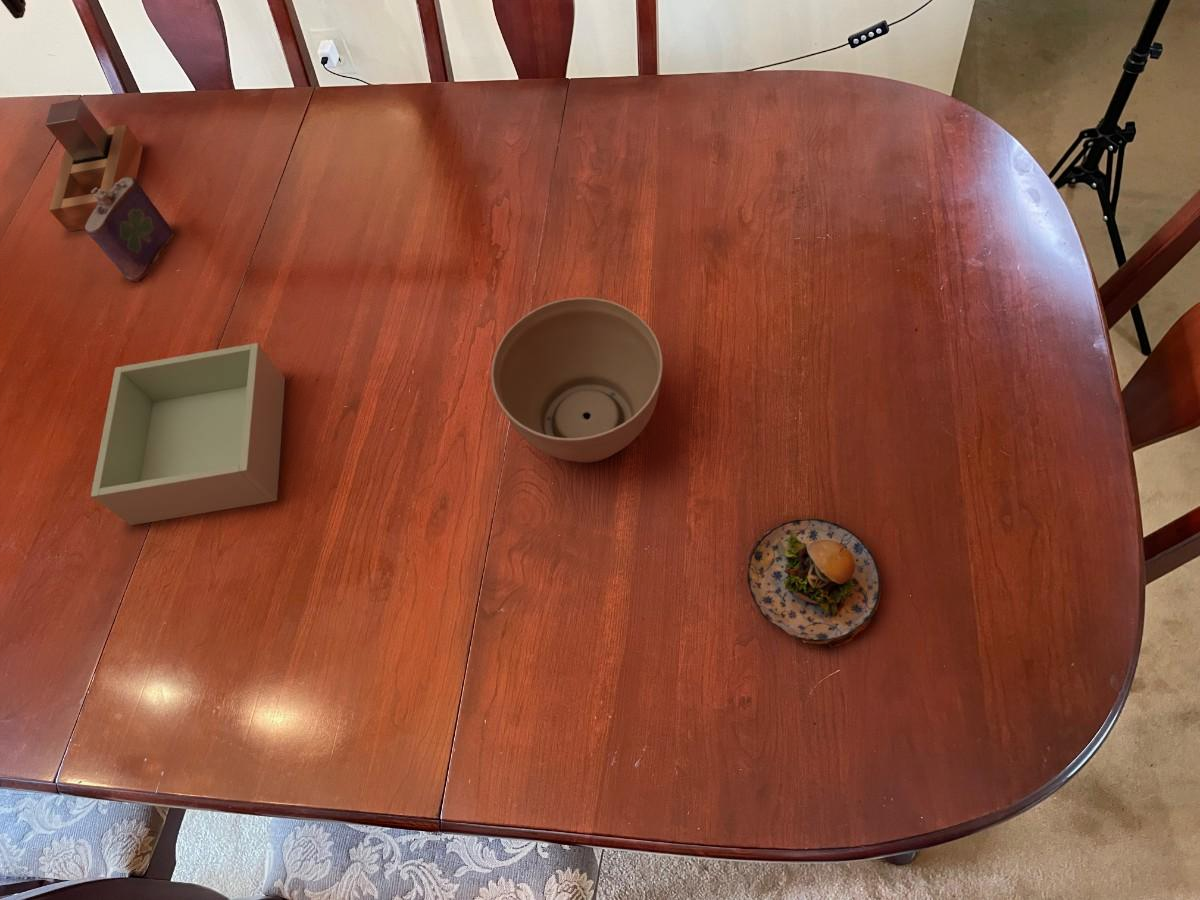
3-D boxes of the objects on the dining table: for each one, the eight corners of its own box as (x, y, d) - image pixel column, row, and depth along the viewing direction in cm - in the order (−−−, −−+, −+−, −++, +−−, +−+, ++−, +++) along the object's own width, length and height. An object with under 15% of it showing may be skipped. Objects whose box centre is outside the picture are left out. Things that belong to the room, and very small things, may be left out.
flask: (140, 284, 105) (85, 221, 96) (121, 280, 106) (65, 217, 97) (178, 230, 109) (130, 164, 100) (159, 226, 110) (109, 161, 101)
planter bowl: (550, 520, 83) (530, 468, 74) (490, 399, 91) (466, 338, 82) (694, 451, 85) (693, 392, 76) (624, 339, 93) (615, 273, 84)
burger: (737, 532, 81) (740, 497, 74) (862, 518, 80) (876, 482, 74) (758, 656, 75) (763, 630, 68) (893, 642, 74) (911, 614, 68)
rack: (68, 232, 111) (48, 209, 108) (87, 157, 119) (69, 134, 115) (128, 221, 111) (109, 199, 108) (143, 147, 118) (126, 123, 115)
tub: (130, 525, 88) (90, 496, 82) (150, 401, 96) (114, 367, 90) (277, 500, 88) (246, 470, 82) (285, 378, 96) (258, 342, 90)
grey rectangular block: (94, 185, 115) (45, 124, 107) (99, 164, 117) (51, 104, 109) (122, 179, 115) (75, 119, 107) (127, 159, 117) (81, 98, 109)
